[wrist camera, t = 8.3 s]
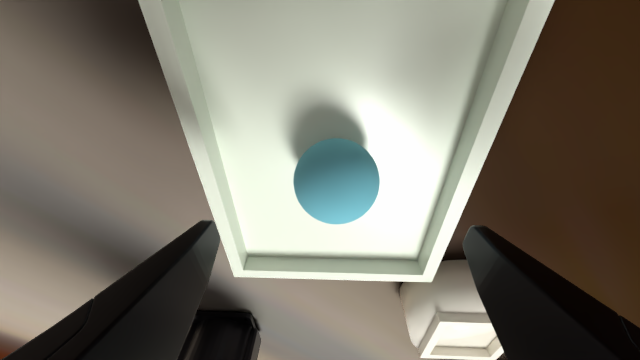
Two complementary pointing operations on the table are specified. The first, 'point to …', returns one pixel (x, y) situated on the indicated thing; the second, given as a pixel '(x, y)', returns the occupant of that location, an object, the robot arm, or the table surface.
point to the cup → (449, 316)
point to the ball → (336, 181)
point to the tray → (341, 118)
